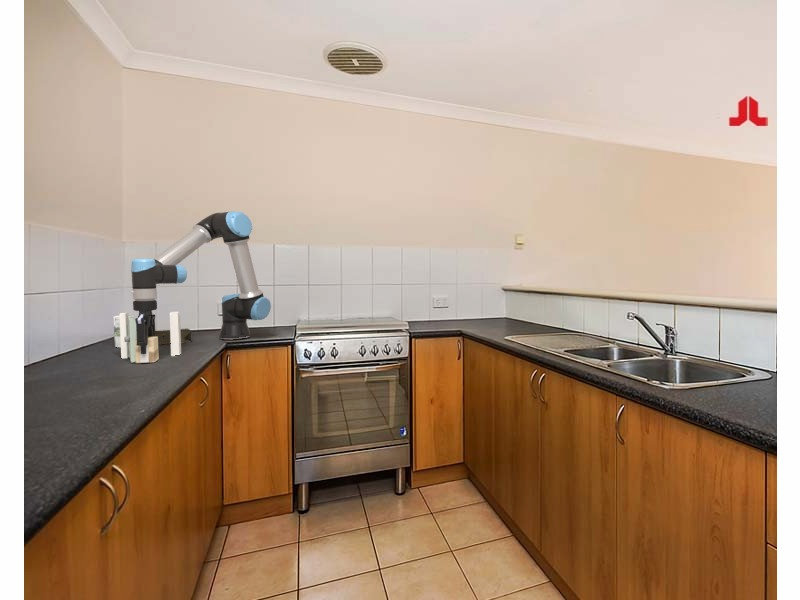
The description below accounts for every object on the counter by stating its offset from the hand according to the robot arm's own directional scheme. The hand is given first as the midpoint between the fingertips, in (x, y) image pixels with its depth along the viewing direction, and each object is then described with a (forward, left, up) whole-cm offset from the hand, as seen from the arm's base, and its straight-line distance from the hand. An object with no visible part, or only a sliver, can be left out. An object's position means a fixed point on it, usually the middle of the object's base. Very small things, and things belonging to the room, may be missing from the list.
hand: (147, 360), depth 144 cm
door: (+7, -5, 0) cm, 9 cm away
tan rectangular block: (0, 0, 0) cm, 0 cm away
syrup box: (+20, -36, -1) cm, 41 cm away
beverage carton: (+4, -42, -1) cm, 43 cm away
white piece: (+1, -11, -1) cm, 11 cm away
